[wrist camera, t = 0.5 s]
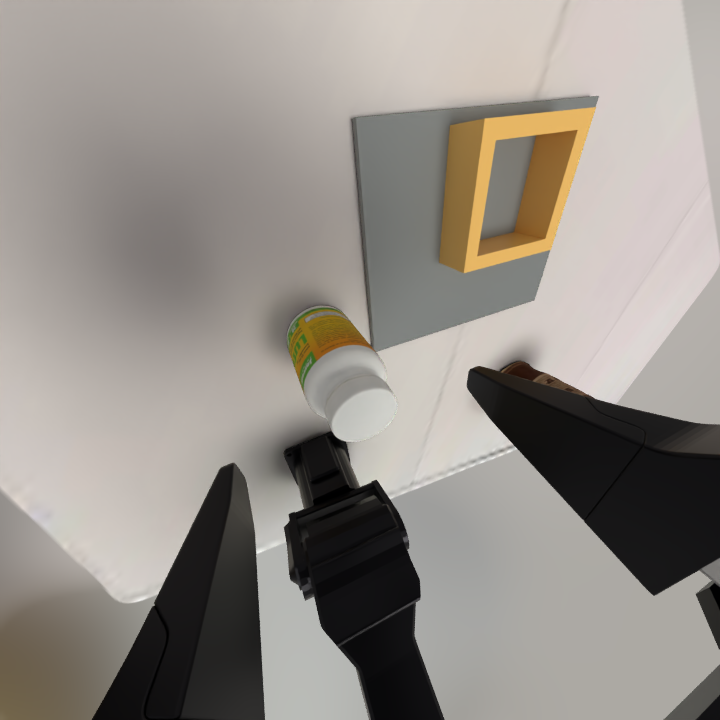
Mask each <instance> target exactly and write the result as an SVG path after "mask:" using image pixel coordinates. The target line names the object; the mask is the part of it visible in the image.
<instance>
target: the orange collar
mask: <svg viewBox="0 0 720 720" xmlns="http://www.w3.org/2000/svg"><path fill="white" fill-rule="evenodd" d="M595 109H596V107H592V108H583V109H573V110H563V111H553V112H544V113H534V114H524V115H514V116H505V117H495V118H485V119H480V120H475V121H469V122H464V123H459V124H454V125H450V131H449V144H448V156H447V169H446V181H445V194H444V207H443V219H442V232H441V245H440V257H439V263H441V264H444V265H446V266H448V267H450V268H453V269H455V270H457V271H459V272H462V273H467V272H471V271H474V270H478V269H482V268H485V267H489V266H493V265H496V264H500V263H504V262H507V261H511V260H515V259H519V258H522V257H526V256H530V255H533V254H537V253H541V252H544V251H548V250H551V247H552V244H553V241H554V238H555V235H556V232H557V228H558V225H559V222H560V219H561V216H562V213H563V210H564V206H565V203H566V200H567V197H568V194H569V191H570V188H571V184H572V181H573V178H574V175H575V172H576V169H577V165H578V162H579V159H580V156H581V153H582V150H583V147H584V143H585V140H586V137H587V134H588V131H589V128H590V125H591V121H592V118H593V115H594V112H595ZM533 135H536V139H535V143H534V148H533V152H532V156H531V161H530V165H529V169H528V174H527V178H526V183H525V187H524V191H523V196H522V200H521V204H520V209H519V213H518V217H517V222H516V226H515V230H514V232H513V233H508V234H504V235H500V236H496V237H492V238H488V239H483V240H480V236H481V229H482V223H483V217H484V211H485V205H486V198H487V192H488V186H489V180H490V174H491V167H492V161H493V155H494V149H495V143H496V140H502V139H510V138H518V137H526V136H533Z"/></svg>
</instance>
